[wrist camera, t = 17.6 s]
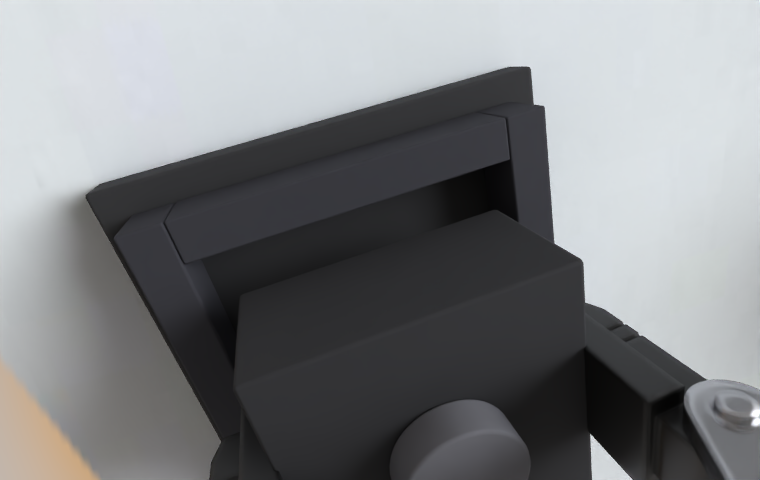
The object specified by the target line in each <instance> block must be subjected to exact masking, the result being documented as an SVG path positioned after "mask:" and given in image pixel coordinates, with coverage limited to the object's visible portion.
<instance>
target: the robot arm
mask: <svg viewBox="0 0 760 480" xmlns="http://www.w3.org/2000/svg"><path fill="white" fill-rule="evenodd" d="M585 319H586V344H587V345H586V347H584V360H585V382H586V405H587V428H588V432H589V433H590V434H591V435H592V436H593V437H594V438H595V439H596V440H597V441H598V442H599V443H600V445H601V446H602V447H603V448H604V449H605V450H606V451H607V452H608V453H609V454H610V455H611V457H612V458H613V459H614V460H615V461H616V462H617V463H618V464H619V465H620V466H621V467H622V468H623V470H624V471H625V472H626V473H627V474H628V475H629V476H630V477H631V478H632V479H633V480H760V390H759V389H757V388H754V387H752V386H749V385H746V384H743V383H740V382H735V381H729V380H706V379H705V378H703V377H702V376H700V375H699V374H697V373H696V372H695V371H693V370H692V369H690V368H689V367H687V366H686V365H684V364H683V363H681V362H680V361H679V360H677V359H676V358H674V357H673V356H671V355H670V354H668V353H667V352H665V351H664V350H663V349H661V348H660V347H658V346H657V345H655V344H654V343H652V342H651V341H649V340H648V339H647V338H645V337H644V336H639V334H638V332H636V331H635V330H634V329H632V328H631V327H629V326H628V325H624V324H623V322H622V321H620V320H619V319H618V318H616V317H615V316H613V315H612V314H610V313H609V312H607V311H606V310H604V309H602V308H599V307H596V306H593V305H591V304H588V303H585ZM209 480H283V478H282V476H281V474H280V472H279V471H274V470H273V469H272V467H271V465H270V463H269V461H268V459H267V457H266V455H265V453H264V451H263V449H262V447H261V445H260V443H259V441H258V439H257V437H256V435H255V433H254V431H253V429H252V427H251V425H250V423H249V421H248V419H247V417H246V415H245V413H244V411H243V409H242V407H241V423H240V432H238V433H235V434H233V435H230V436H228V437H225V438H223V440H222V442H221V444H220V446H219V448H218V450H217V452H216V454H215V456H214V458H213V460H212V462H211V469H210V478H209Z"/></svg>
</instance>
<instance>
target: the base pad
mask: <svg viewBox="0 0 760 480" xmlns="http://www.w3.org/2000/svg"><path fill="white" fill-rule="evenodd" d="M86 199H87V201H88V203H89V205H90V207H91V208H92V210H93V212H94V214H95V216H96V217H97V219H98V221H99V223H100V225H101V226H102V228H103V230H104V232H105V234H106V235H107V237H108V239H109V241H110V243H111V244H112V246H113V248H114V250H115V251H116V253H117V255H118V257H119V259H120V260H121V262H122V264H123V266H124V268H125V269H126V271H127V273H128V275H129V277H130V278H131V280H132V282H133V284H134V286H135V287H136V289H137V291H138V293H139V295H140V296H141V298H142V300H143V302H144V303H145V305H146V307H147V309H148V311H149V312H150V314H151V316H152V318H153V320H154V321H155V323H156V325H157V327H158V329H159V330H160V332H161V334H162V336H163V338H164V339H165V341H166V343H167V345H168V347H169V348H170V350H171V352H172V354H173V355H174V357H175V359H176V361H177V363H178V364H179V366H180V368H181V370H182V372H183V373H184V375H185V377H186V379H187V381H188V382H189V384H190V386H191V388H192V390H193V391H194V393H195V395H196V397H197V399H198V400H199V402H200V404H201V406H202V408H203V409H204V411H205V413H206V415H207V416H208V418H209V420H210V422H211V424H212V425H213V427H214V429H215V431H216V433H217V434H218V436H219V438H220V440H221V442H222V440H223V438H225V437H228V436H230V435H233V434H235V433H238V432H240V423H241V405H240V403H239V401H238V399H237V397H236V395H235V393H234V391H233V381H234V368H235V354H236V340H237V326H238V312H239V298H240V296H241V295H242V294H245V293H248V292H251V291H254V290H257V289H260V288H263V287H266V286H269V285H272V284H275V283H278V282H281V281H284V280H287V279H290V278H293V277H296V276H298V275H301V274H304V273H307V272H310V271H313V270H316V269H319V268H322V267H325V266H328V265H331V264H334V263H337V262H340V261H343V260H346V259H349V258H352V257H355V256H358V255H361V254H364V253H367V252H370V251H373V250H376V249H379V248H382V247H385V246H388V245H391V244H394V243H397V242H400V241H403V240H405V239H408V238H411V237H414V236H417V235H420V234H423V233H426V232H429V231H432V230H435V229H438V228H441V227H444V226H447V225H450V224H453V223H456V222H459V221H462V220H465V219H468V218H471V217H474V216H477V215H480V214H483V213H486V212H489V211H492V210H498V211H500V212H501V213H503V214H505V215H506V216H508V217H510V218H511V219H513V220H515V221H517V222H518V223H520V224H522V225H523V226H525V227H527V228H529V229H530V230H532V231H534V232H535V233H537V234H539V235H540V236H542V237H544V238H546V239H547V240H549V241H551V242H552V243H554V233H553V219H552V205H551V191H550V177H549V163H548V149H547V135H546V121H545V108H544V106H539V105H534V103H533V91H532V79H531V69H530V67H507V68H504V69H500V70H497V71H493V72H490V73H486V74H483V75H479V76H476V77H472V78H469V79H465V80H462V81H458V82H455V83H451V84H448V85H444V86H441V87H437V88H434V89H430V90H427V91H424V92H420V93H417V94H413V95H410V96H406V97H403V98H399V99H396V100H392V101H389V102H385V103H382V104H378V105H375V106H371V107H368V108H364V109H361V110H357V111H354V112H350V113H347V114H343V115H340V116H336V117H333V118H329V119H326V120H322V121H319V122H315V123H312V124H308V125H305V126H301V127H298V128H294V129H291V130H287V131H284V132H280V133H277V134H273V135H270V136H266V137H263V138H259V139H256V140H252V141H249V142H245V143H242V144H238V145H235V146H232V147H228V148H225V149H221V150H218V151H214V152H211V153H207V154H204V155H200V156H197V157H193V158H190V159H186V160H183V161H179V162H176V163H172V164H169V165H165V166H162V167H158V168H155V169H151V170H148V171H144V172H141V173H137V174H134V175H130V176H127V177H123V178H120V179H116V180H113V181H109V182H106V183H102V184H100V185H98V186H97V187H96V188H94V189H93V190H92V191H90V192H89V193H88V194H86Z"/></svg>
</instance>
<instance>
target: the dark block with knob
mask: <svg viewBox="0 0 760 480" xmlns="http://www.w3.org/2000/svg"><path fill="white" fill-rule="evenodd" d="M586 345H587V344H586V319H585V293H584V268H583V262H582V260H581V259H580V258H578V257H576V256H575V255H573V254H571V253H569V252H568V251H566V250H564V249H563V248H561V247H559V246H558V245H556V244H554V243H552V242H551V241H549V240H547V239H546V238H544V237H542V236H540V235H539V234H537V233H535V232H534V231H532V230H530V229H529V228H527V227H525V226H523V225H522V224H520V223H518V222H517V221H515V220H513V219H511V218H510V217H508V216H506V215H505V214H503V213H501V212H500V211H498V210H492V211H489V212H486V213H483V214H480V215H477V216H474V217H471V218H468V219H465V220H462V221H459V222H456V223H453V224H450V225H447V226H444V227H441V228H438V229H435V230H432V231H429V232H426V233H423V234H420V235H417V236H414V237H411V238H408V239H405V240H403V241H400V242H397V243H394V244H391V245H388V246H385V247H382V248H379V249H376V250H373V251H370V252H367V253H364V254H361V255H358V256H355V257H352V258H349V259H346V260H343V261H340V262H337V263H334V264H331V265H328V266H325V267H322V268H319V269H316V270H313V271H310V272H307V273H304V274H301V275H298V276H296V277H293V278H290V279H287V280H284V281H281V282H278V283H275V284H272V285H269V286H266V287H263V288H260V289H257V290H254V291H251V292H248V293H245V294H242V295H241V296H240V298H239V312H238V326H237V340H236V354H235V368H234V381H233V391H234V393H235V395H236V397H237V399H238V401H239V403H240V405H241V407H242V409H243V411H244V413H245V415H246V417H247V419H248V421H249V423H250V425H251V427H252V429H253V431H254V433H255V435H256V437H257V439H258V441H259V443H260V445H261V447H262V449H263V451H264V453H265V455H266V457H267V459H268V461H269V463H270V465H271V467H272V469H273V470H274V471H279V472H280V474H281V476H282V478H283V480H592V471H591V446H590V433H589V432H588V428H587V405H586V382H585V360H584V347H586Z"/></svg>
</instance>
